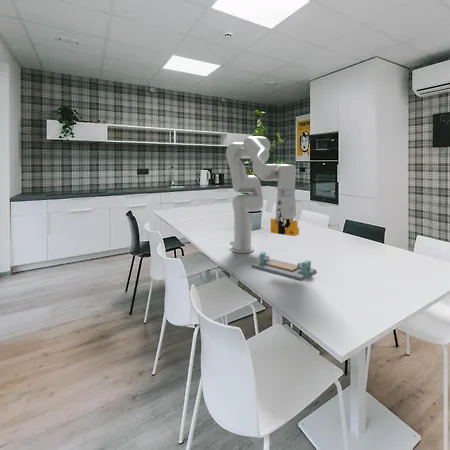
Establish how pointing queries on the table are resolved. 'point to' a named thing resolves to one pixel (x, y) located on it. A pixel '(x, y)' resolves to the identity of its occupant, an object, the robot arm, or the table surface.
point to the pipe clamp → (291, 230)
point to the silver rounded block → (301, 266)
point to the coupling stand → (284, 268)
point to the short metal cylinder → (265, 258)
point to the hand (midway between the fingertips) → (284, 232)
